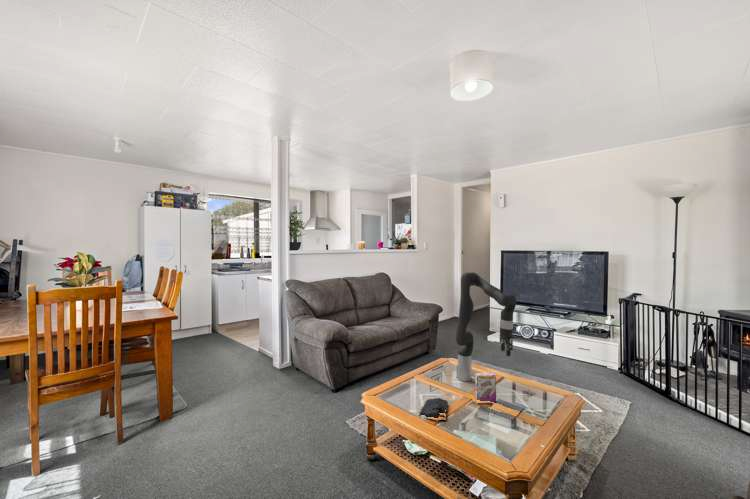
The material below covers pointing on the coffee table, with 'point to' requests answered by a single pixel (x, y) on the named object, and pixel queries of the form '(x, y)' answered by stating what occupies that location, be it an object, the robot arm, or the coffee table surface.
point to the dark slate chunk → (434, 407)
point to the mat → (506, 404)
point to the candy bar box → (485, 387)
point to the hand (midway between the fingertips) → (505, 353)
